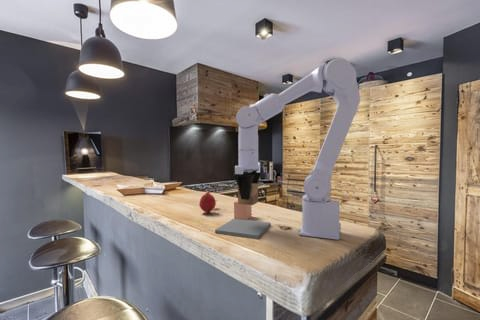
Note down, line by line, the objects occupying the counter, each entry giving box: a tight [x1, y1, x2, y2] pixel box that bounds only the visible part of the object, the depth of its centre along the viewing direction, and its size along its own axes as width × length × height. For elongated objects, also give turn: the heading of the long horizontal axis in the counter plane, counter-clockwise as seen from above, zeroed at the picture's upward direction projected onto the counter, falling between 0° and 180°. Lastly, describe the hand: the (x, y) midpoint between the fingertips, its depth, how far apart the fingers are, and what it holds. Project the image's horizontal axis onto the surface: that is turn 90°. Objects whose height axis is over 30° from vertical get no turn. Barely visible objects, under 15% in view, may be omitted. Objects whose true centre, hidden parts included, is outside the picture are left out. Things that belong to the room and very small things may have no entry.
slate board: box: [214, 218, 272, 240], centre depth 63 cm, size 12×12×1 cm
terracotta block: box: [233, 199, 253, 220], centre depth 76 cm, size 4×4×6 cm
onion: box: [199, 190, 217, 214], centre depth 82 cm, size 6×6×8 cm
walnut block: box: [237, 182, 259, 206], centre depth 65 cm, size 4×4×6 cm
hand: (248, 197), depth 65 cm, fingers closed on walnut block, 4 cm apart
